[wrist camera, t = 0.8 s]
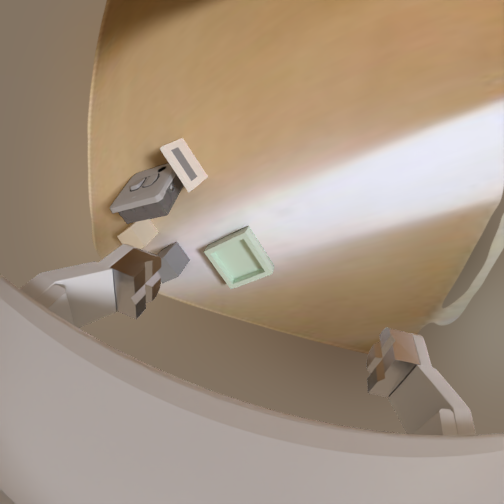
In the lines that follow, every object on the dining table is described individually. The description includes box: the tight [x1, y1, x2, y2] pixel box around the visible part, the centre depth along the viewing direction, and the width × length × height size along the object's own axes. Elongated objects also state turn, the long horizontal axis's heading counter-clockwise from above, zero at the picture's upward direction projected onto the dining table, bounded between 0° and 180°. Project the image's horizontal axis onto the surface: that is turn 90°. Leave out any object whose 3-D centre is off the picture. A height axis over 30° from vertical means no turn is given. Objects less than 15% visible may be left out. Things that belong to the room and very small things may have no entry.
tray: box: [204, 226, 274, 289], centre depth 46 cm, size 8×8×2 cm
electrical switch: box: [110, 163, 184, 224], centre depth 39 cm, size 9×5×9 cm, turn 104°
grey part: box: [157, 242, 190, 283], centre depth 48 cm, size 4×4×5 cm
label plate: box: [160, 138, 208, 192], centre depth 37 cm, size 7×1×6 cm, turn 32°
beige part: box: [117, 219, 159, 249], centre depth 46 cm, size 4×4×5 cm
